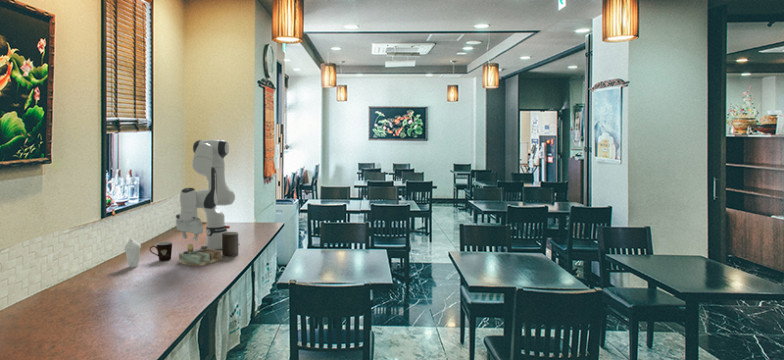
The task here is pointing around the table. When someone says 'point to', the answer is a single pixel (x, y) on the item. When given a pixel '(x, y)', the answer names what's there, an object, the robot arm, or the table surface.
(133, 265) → the soft serve ice cream cone
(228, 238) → the pillar candle
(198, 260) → the door board
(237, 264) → the table surface
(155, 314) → the table surface
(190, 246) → the bar
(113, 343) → the table surface
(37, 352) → the table surface
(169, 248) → the coffee mug
